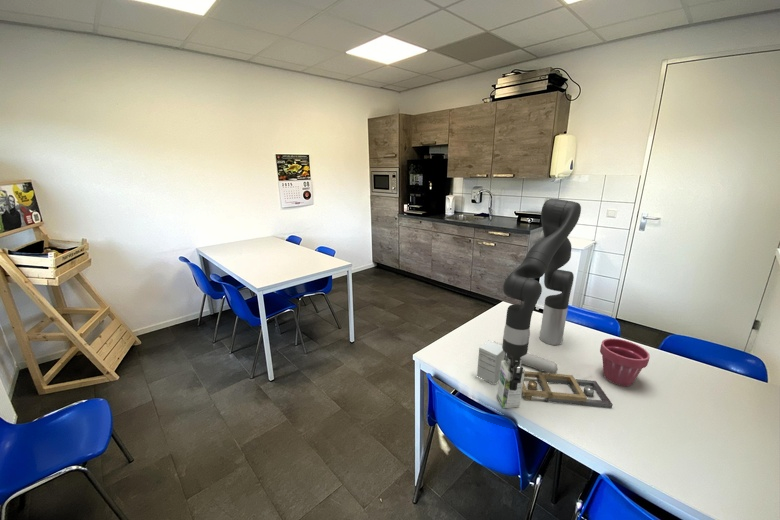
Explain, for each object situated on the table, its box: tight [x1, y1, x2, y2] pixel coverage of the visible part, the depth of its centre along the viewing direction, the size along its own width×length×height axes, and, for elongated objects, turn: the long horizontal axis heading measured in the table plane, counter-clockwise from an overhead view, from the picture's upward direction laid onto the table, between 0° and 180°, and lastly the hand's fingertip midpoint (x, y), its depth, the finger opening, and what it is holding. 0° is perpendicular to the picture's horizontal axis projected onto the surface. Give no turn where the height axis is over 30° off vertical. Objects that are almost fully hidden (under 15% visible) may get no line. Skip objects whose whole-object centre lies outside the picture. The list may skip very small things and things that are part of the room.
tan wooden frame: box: [521, 370, 588, 402], centre depth 112 cm, size 12×20×3 cm, turn 81°
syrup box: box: [496, 360, 526, 409], centre depth 105 cm, size 6×6×14 cm
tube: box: [493, 341, 559, 374], centre depth 128 cm, size 5×5×25 cm
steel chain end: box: [536, 378, 613, 409], centre depth 111 cm, size 12×20×2 cm, turn 81°
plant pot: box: [599, 338, 651, 387], centre depth 117 cm, size 14×14×13 cm
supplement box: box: [476, 339, 505, 386], centre depth 118 cm, size 7×7×13 cm
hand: (510, 382), depth 105 cm, fingers closed on syrup box, 6 cm apart
